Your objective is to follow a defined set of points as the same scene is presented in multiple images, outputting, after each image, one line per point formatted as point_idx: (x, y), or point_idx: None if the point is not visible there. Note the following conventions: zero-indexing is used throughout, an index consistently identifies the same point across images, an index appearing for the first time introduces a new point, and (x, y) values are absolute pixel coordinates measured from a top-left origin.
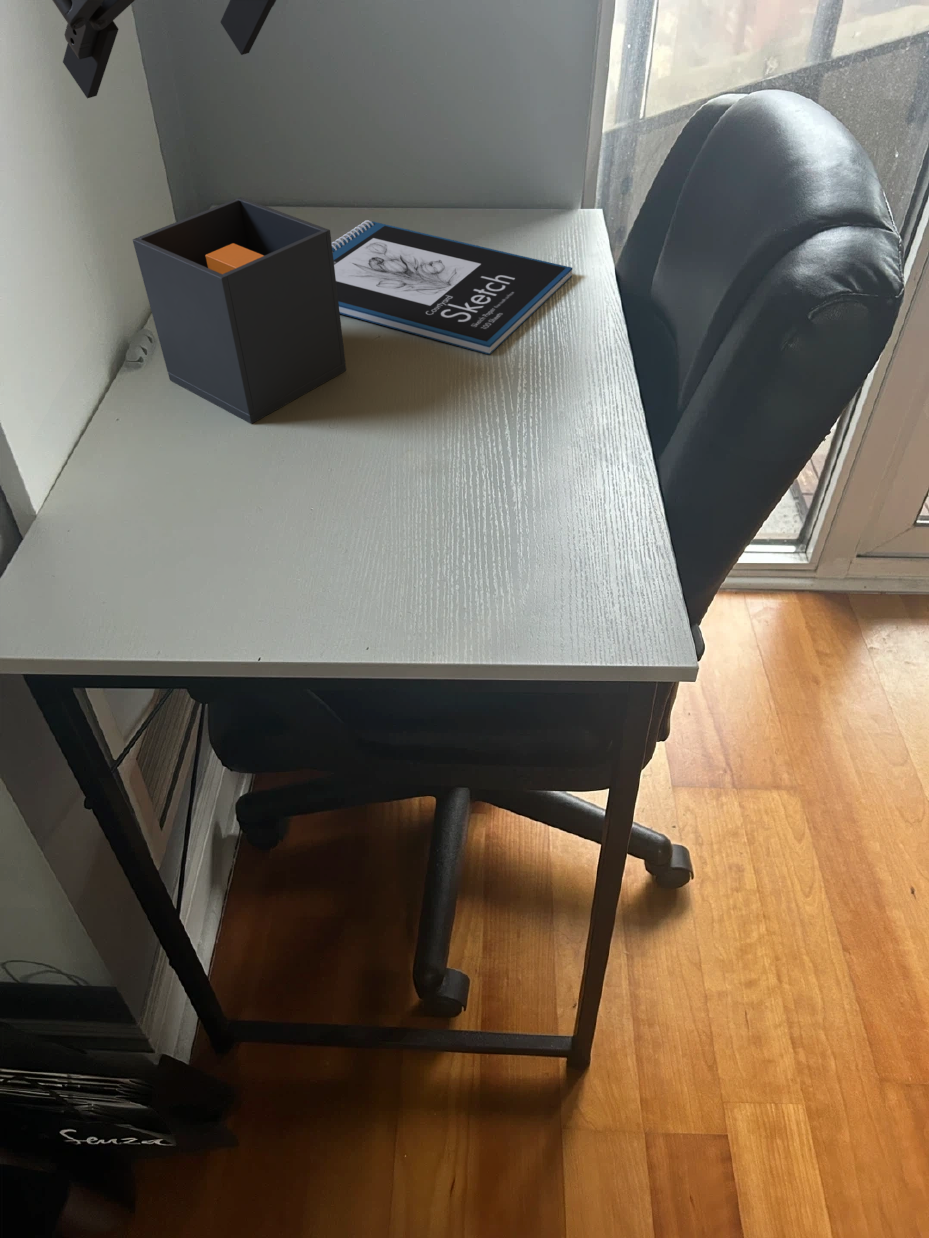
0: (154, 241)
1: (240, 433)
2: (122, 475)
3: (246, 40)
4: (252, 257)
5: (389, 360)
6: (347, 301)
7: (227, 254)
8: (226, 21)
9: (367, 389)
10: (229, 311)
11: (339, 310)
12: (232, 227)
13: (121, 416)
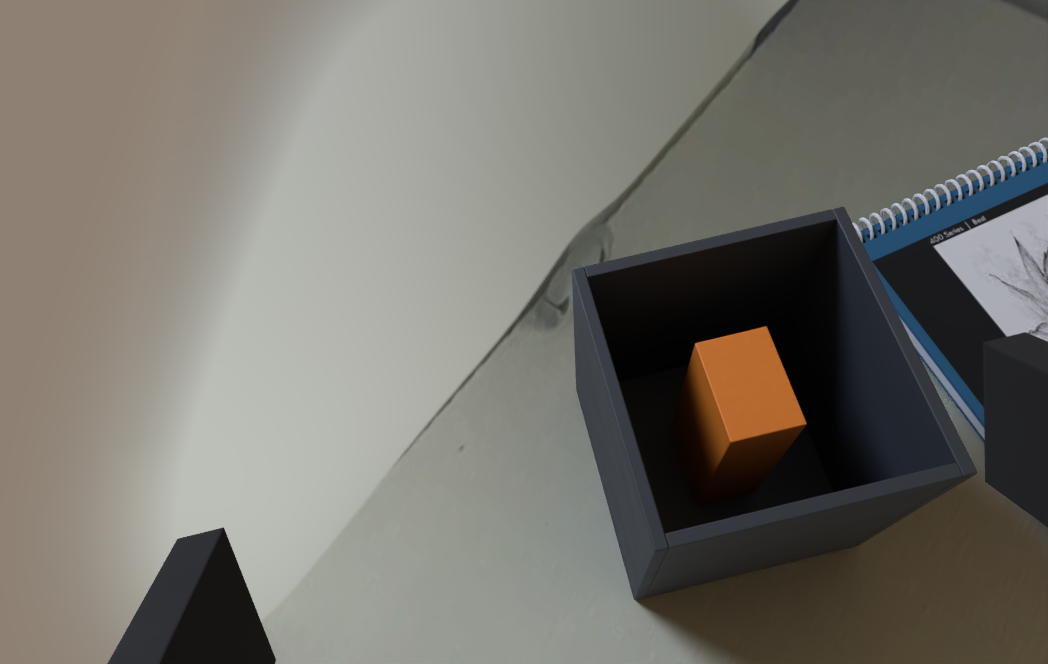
0: (614, 277)
1: (606, 613)
2: (398, 604)
3: (1045, 512)
4: (778, 410)
5: (950, 562)
6: (952, 354)
7: (736, 366)
8: (1011, 380)
9: (869, 629)
10: (652, 564)
11: (927, 360)
12: (794, 252)
13: (470, 442)
